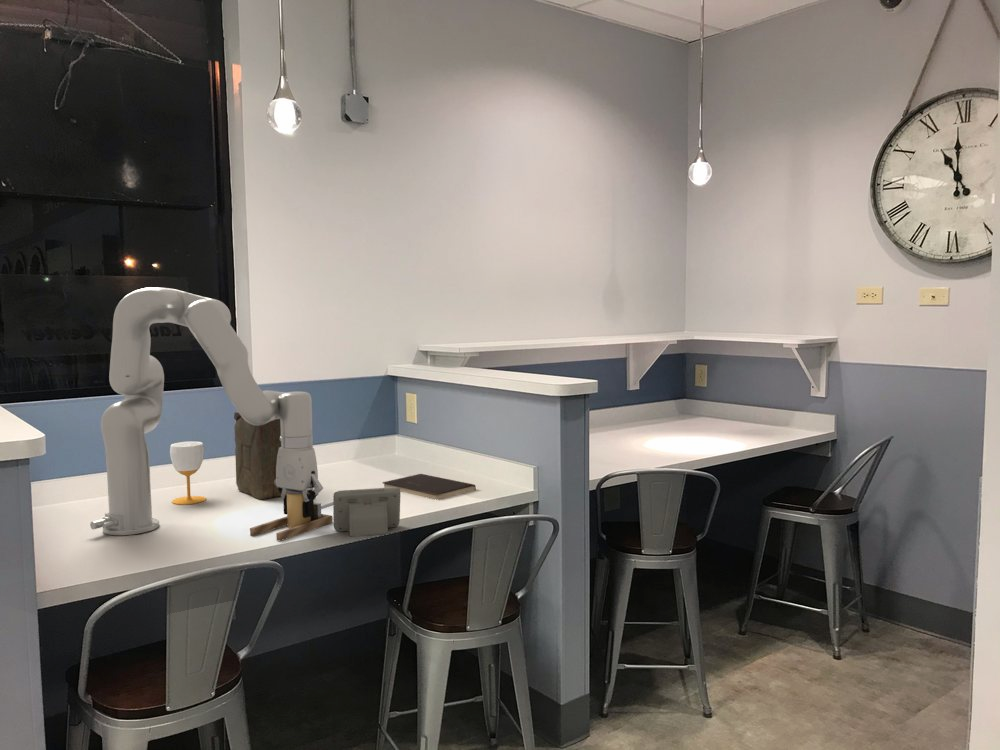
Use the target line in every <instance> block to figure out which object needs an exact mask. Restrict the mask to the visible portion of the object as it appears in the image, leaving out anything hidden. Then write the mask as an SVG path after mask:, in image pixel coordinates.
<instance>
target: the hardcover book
mask: <svg viewBox="0 0 1000 750" xmlns="http://www.w3.org/2000/svg"><path fill="white" fill-rule="evenodd" d="M382 484H383V485H384V486H383V488H389V487H396V488H399V489H400V493H406V494H410V495H414V496H418V497H421V498H422V497H423V498H426V497H427V498H428V499H432V500H435V499H436V500H437V499H438V500H441V498H442V499H445V497H446V498H449V496H450V497H454V496H457V495H460V494H465V493H469V492H472V490H473V491H476V485H475V484H473V483H469V482H464V481H459V480H454V479H448V478H444V477H440V476H439V477H438V476H434V475H430V474H429V475H428V474H423V473H417V474H414V475H409V476H403V477H400V478H396V479H391V480H387V481H386V480H385V481H382ZM468 491H469V492H468ZM453 495H454V496H453Z"/></svg>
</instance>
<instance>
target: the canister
mask: <svg viewBox="0 0 1000 750" xmlns="http://www.w3.org/2000/svg"><path fill="white" fill-rule="evenodd" d="M233 415H234V417H233V419H234V420H235V423H234V442H235V444H234V445H235V449H234V452H235V456H234V457H235V484H236V487H237V490H238V491H239V492H242V493H244V494H248V495H250V496H252V497H254V498H256V499H258V500H267V499H268V500H269V499H273V498H278V497H281V493H280V491H279V490H278V488H277V486H276V485H275V484H274V481H275V479H276V465H277V455H278V450H279V448H280V447H281V441H280V437H281V424H280V419H275V420H272V421H270V422H268V423H266V424H264V425H260V426H256V425H252V424H250V423H248V422H247V421H245V420H244V419H243V418H242V416H241V415H240V414H239V412H238V411H237V412H235V411H234V412H233Z"/></svg>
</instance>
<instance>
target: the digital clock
mask: <svg viewBox="0 0 1000 750" xmlns="http://www.w3.org/2000/svg"><path fill="white" fill-rule="evenodd" d="M332 500H333V501H332V502H333V506H332V508H333V511H332V512H333V515H332V521H333V528H334V530H335V531H336V532H345V531H346V532H349V536H350V537H360V536H374V535H375V536H376V535H377V536H378V535H386V534H387V535H388V533H389V531H388V529H389V528H395V527H398V526H399V525H400V519H401V518H400V517H401V492H400V489H399V488H396V487H389V488H384V487H378V488H377V487H373V488H363V489H362V488H361V489H344V490H338V491H335V492H333V499H332Z"/></svg>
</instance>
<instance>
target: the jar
mask: <svg viewBox="0 0 1000 750" xmlns="http://www.w3.org/2000/svg"><path fill="white" fill-rule="evenodd" d="M307 492H308V495H309V490H308V491H307ZM286 493H287V515H286V516H287V525H286V526H287V527H288V528H289V529H290V528H293V527H296V526H299V525H302V524H305V523H308V522H311V516H310V517H307V518H304V517H303V502H304V501H305V500H304V497H303V493H302V491H298V490H291V489H286Z"/></svg>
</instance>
